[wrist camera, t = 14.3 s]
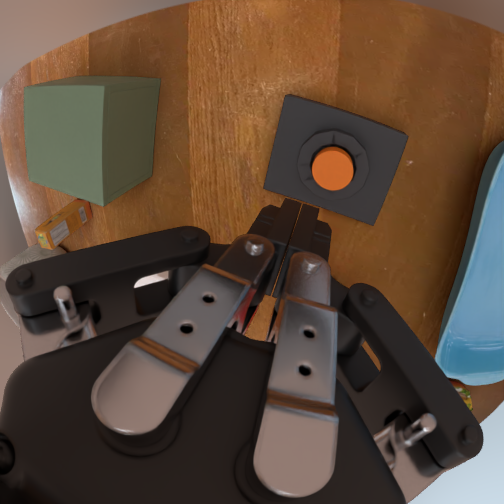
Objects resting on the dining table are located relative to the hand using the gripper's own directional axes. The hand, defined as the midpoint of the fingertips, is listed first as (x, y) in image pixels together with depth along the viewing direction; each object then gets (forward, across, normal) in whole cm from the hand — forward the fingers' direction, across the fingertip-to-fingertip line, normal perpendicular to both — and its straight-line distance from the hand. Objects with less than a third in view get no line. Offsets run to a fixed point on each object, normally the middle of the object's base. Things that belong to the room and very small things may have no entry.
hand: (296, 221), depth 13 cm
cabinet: (+19, +26, +4) cm, 33 cm away
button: (+15, -1, +1) cm, 16 cm away
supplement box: (+19, +32, +18) cm, 42 cm away
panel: (+19, -2, +2) cm, 19 cm away
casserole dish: (+19, -28, +4) cm, 34 cm away
